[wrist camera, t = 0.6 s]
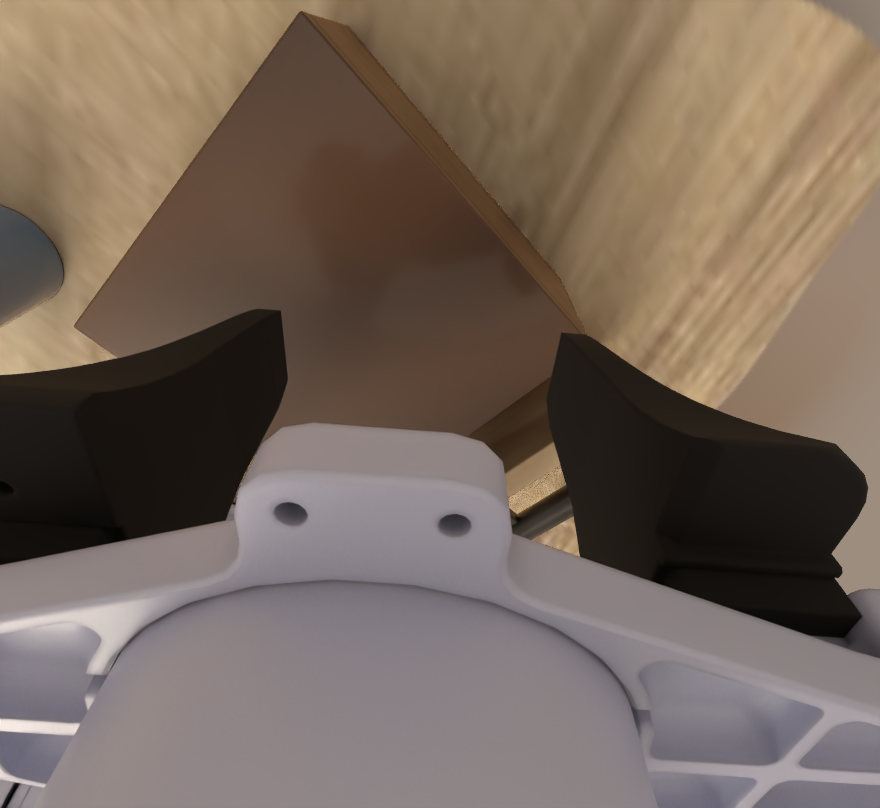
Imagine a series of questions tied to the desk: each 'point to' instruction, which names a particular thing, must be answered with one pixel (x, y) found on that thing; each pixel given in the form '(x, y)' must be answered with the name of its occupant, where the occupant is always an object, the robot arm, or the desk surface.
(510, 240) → the cabinet
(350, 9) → the desk surface
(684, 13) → the desk surface
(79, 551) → the robot arm
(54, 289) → the tan grey cylinder
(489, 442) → the drawer
